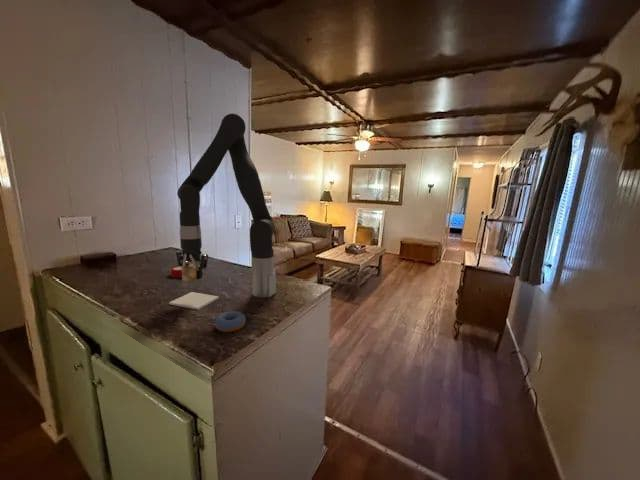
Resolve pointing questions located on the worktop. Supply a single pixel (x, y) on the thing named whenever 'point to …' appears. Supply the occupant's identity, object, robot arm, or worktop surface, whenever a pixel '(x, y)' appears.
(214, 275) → the worktop surface
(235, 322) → the doughnut
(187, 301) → the plate
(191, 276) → the maple block
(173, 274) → the alarm clock
